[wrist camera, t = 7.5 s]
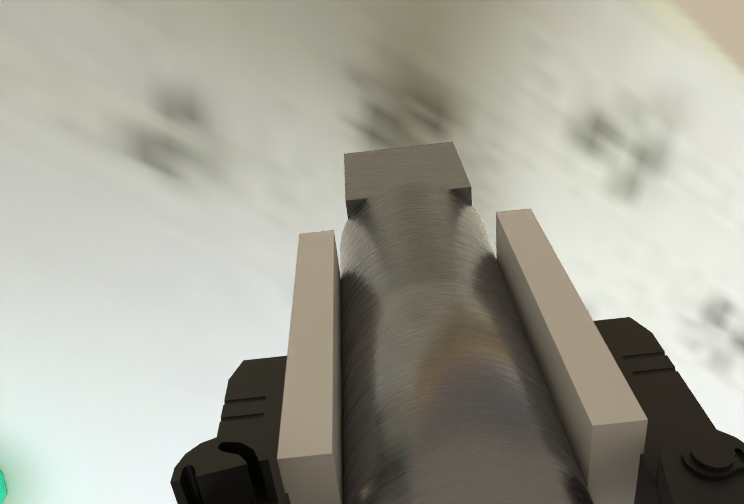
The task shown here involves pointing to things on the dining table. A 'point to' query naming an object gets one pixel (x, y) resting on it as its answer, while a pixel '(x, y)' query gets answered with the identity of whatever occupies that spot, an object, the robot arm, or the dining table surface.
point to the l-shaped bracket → (437, 349)
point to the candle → (2, 488)
